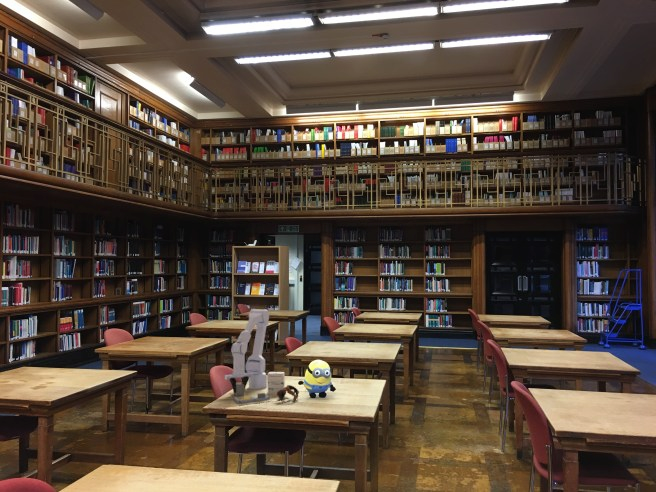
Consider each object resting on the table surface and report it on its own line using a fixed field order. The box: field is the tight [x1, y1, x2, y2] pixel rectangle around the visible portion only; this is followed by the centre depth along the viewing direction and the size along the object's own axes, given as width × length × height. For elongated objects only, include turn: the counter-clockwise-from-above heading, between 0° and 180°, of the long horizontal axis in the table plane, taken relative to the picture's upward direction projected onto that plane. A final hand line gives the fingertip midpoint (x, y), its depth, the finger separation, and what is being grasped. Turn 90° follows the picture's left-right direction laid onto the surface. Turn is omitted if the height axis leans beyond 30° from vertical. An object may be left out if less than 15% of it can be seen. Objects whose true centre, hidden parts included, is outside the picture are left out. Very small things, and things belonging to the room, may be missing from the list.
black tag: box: [257, 392, 266, 398], centre depth 250 cm, size 4×1×2 cm, turn 117°
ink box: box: [266, 371, 286, 395], centre depth 265 cm, size 9×5×12 cm, turn 84°
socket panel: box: [233, 393, 271, 407], centre depth 251 cm, size 16×8×2 cm, turn 117°
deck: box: [229, 392, 249, 398], centre depth 261 cm, size 8×8×1 cm
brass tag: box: [242, 394, 252, 400], centre depth 247 cm, size 4×1×2 cm, turn 117°
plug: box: [233, 381, 244, 397], centre depth 261 cm, size 4×5×6 cm
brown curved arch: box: [276, 384, 300, 402], centre depth 254 cm, size 12×10×8 cm
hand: (239, 391), depth 261 cm, fingers closed on plug, 4 cm apart
